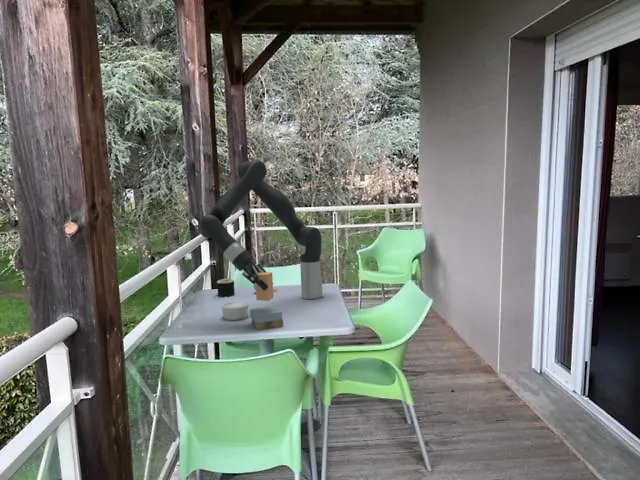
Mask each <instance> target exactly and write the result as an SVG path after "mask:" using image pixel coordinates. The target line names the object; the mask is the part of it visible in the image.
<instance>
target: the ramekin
mask: <svg viewBox="0 0 640 480" xmlns="http://www.w3.org/2000/svg"><path fill="white" fill-rule="evenodd" d="M221 310H222V315H223V318H224V319H225V320H228V321H237V320H242V319H243V320H244V319H245V318H247V316H248V311H249V303H248V302H245V301H231V302H227V303H223V304H221Z"/></svg>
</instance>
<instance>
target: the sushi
mask: <svg viewBox="0 0 640 480" xmlns="http://www.w3.org/2000/svg"><path fill="white" fill-rule="evenodd" d="M216 285H217V297H218V296H219V298H228V297H229V296H230V297H234V296H235V280H234V279H233V278H223V279H219V280H217V281H216Z"/></svg>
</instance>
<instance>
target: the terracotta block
mask: <svg viewBox="0 0 640 480" xmlns="http://www.w3.org/2000/svg"><path fill="white" fill-rule="evenodd" d="M258 276H259V277H260V278H261V280H262V281H263V282H264V283H265V284H266V285H267V286H268V288H267V289H266V290H265V291H264V290H263V289H262V288H261V287H260V286H259V285H258V284H256V290H255V294H256V295H255V298H256V301H260V302H261V301H263V302H265V301H266V302H270V301H271V300H272V299H273V298H274V291H273V289H274V281H273V279H274V278H273V272H269V271H268V272H267V271H266V272H259V275H258Z"/></svg>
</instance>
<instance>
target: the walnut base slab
mask: <svg viewBox="0 0 640 480" xmlns="http://www.w3.org/2000/svg"><path fill="white" fill-rule="evenodd" d="M251 324H252V325H253V327H254V328H255V329H256V330H257V331H263V330H268V329H276V328H275V327H277V328H283V327H284V320H283V319H282V320H277V321H270V322H263V323H256V322H255V321H254V320H253V319H252V318H251ZM282 326H283V327H282Z"/></svg>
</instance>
